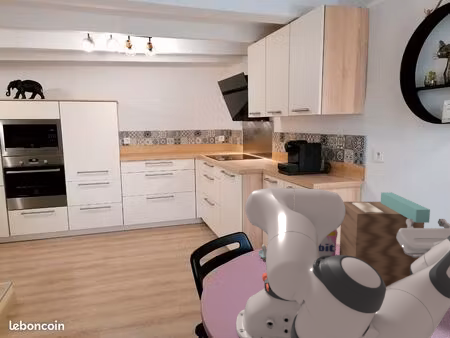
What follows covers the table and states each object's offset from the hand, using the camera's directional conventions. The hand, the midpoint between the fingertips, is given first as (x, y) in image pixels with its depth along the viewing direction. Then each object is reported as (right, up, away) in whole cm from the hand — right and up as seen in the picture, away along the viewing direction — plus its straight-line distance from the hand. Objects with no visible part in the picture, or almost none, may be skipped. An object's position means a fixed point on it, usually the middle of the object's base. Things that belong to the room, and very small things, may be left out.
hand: (424, 220), depth 103 cm
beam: (0, +1, +13) cm, 13 cm away
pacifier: (-43, -22, +40) cm, 63 cm away
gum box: (-26, -22, +41) cm, 53 cm away
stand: (-5, -24, +22) cm, 33 cm away
